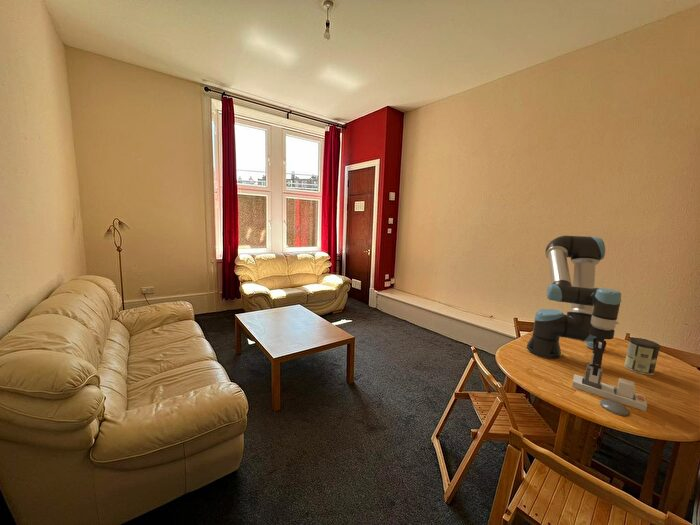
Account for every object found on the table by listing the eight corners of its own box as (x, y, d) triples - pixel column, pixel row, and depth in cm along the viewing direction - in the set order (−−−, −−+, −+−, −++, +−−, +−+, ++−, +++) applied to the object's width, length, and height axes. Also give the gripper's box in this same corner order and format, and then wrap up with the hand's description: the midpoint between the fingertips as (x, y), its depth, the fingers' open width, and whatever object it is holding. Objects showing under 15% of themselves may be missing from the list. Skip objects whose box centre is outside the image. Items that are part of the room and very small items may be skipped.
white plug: (616, 395, 112) (619, 382, 111) (616, 390, 115) (619, 377, 114) (632, 400, 109) (635, 386, 108) (631, 395, 112) (634, 381, 111)
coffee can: (642, 365, 140) (648, 338, 138) (660, 376, 130) (667, 348, 128) (618, 362, 142) (623, 336, 140) (634, 373, 132) (640, 345, 130)
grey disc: (600, 408, 107) (600, 406, 106) (600, 398, 113) (600, 396, 112) (629, 418, 101) (629, 416, 101) (627, 407, 107) (628, 406, 107)
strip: (572, 386, 120) (573, 380, 119) (573, 377, 127) (574, 371, 126) (645, 411, 106) (647, 404, 105) (643, 399, 113) (644, 392, 112)
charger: (583, 385, 118) (586, 367, 117) (584, 380, 122) (587, 363, 121) (598, 390, 115) (602, 372, 114) (599, 385, 119) (602, 367, 118)
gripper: (616, 339, 103) (605, 392, 106) (613, 321, 121) (605, 367, 125) (589, 333, 107) (580, 384, 111) (591, 317, 126) (583, 361, 129)
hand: (593, 375), depth 118 cm, fingers open, 13 cm apart
